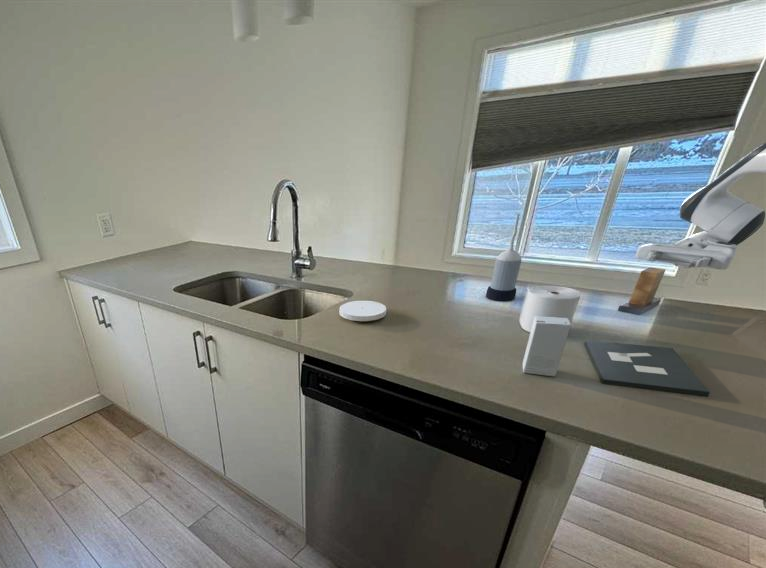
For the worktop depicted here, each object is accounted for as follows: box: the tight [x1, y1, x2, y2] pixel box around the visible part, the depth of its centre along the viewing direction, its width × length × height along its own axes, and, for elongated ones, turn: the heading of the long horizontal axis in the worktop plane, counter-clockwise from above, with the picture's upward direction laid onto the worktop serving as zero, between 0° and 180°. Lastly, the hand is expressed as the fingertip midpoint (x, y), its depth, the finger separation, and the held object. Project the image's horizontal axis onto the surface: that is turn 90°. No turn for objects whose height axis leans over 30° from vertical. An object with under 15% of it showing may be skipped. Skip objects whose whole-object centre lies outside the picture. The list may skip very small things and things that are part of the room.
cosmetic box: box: [522, 316, 572, 377], centre depth 86 cm, size 6×4×12 cm
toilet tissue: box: [519, 284, 582, 334], centre depth 105 cm, size 11×12×10 cm
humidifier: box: [485, 213, 526, 303], centre depth 123 cm, size 8×8×25 cm
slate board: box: [583, 339, 711, 397], centre depth 87 cm, size 16×20×1 cm
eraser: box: [617, 266, 666, 316], centre depth 111 cm, size 5×12×10 cm, turn 121°
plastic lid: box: [338, 300, 387, 322], centre depth 125 cm, size 14×14×2 cm
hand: (671, 261), depth 113 cm, fingers open, 8 cm apart
